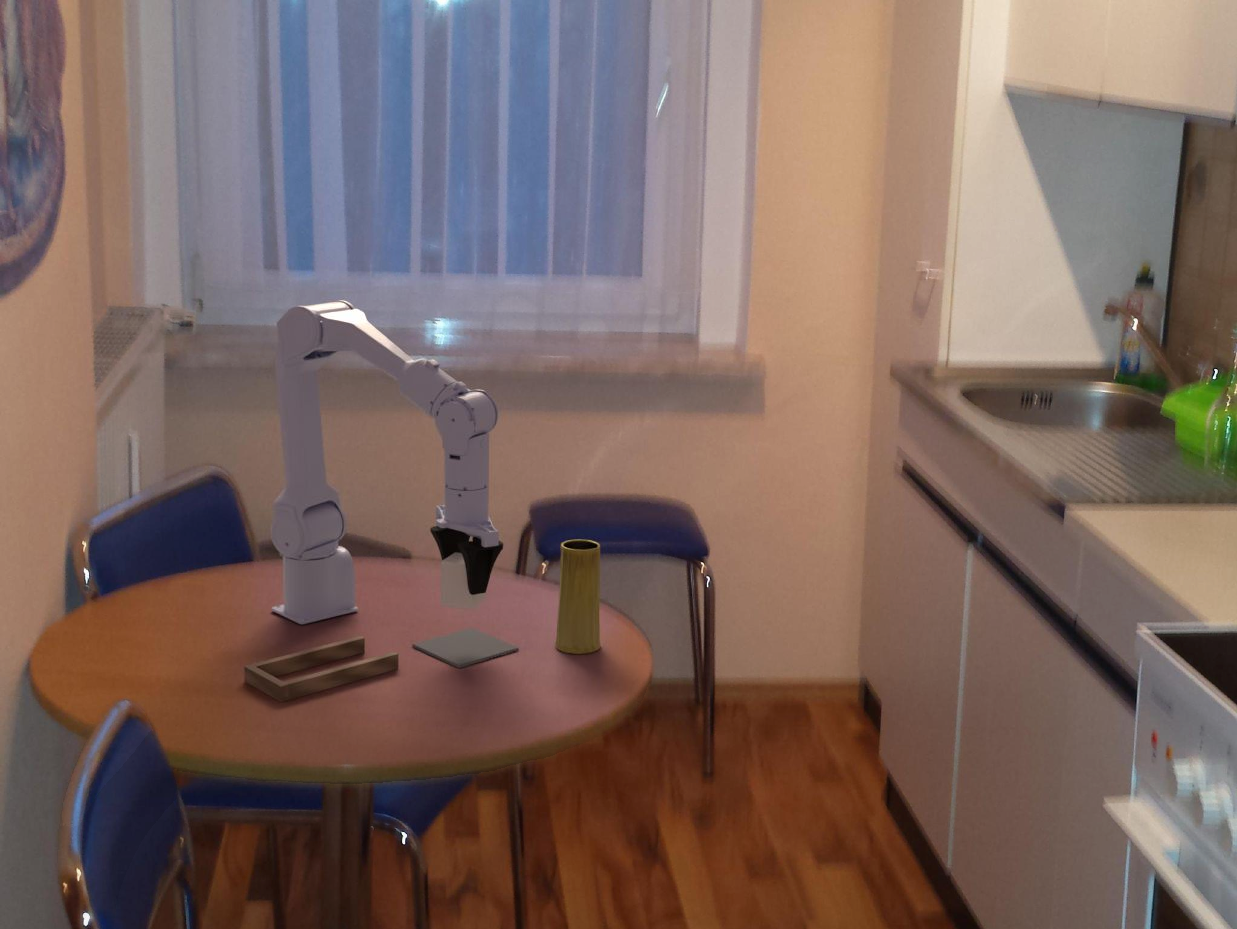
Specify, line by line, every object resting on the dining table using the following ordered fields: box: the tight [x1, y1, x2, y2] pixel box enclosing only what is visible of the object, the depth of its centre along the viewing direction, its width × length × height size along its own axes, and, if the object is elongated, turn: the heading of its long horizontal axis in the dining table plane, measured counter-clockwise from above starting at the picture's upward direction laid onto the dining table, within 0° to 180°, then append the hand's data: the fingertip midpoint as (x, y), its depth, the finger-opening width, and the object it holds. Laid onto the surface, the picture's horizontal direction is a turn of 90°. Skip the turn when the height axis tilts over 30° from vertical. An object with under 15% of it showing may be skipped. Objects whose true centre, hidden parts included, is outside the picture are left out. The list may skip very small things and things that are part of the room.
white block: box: [440, 552, 487, 611], centre depth 187 cm, size 4×4×6 cm
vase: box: [554, 538, 602, 655], centre depth 189 cm, size 6×6×14 cm
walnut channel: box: [243, 635, 399, 703], centre depth 178 cm, size 17×8×2 cm, turn 134°
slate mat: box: [411, 627, 520, 669], centre depth 189 cm, size 10×10×1 cm
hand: (465, 585), depth 187 cm, fingers closed on white block, 6 cm apart
